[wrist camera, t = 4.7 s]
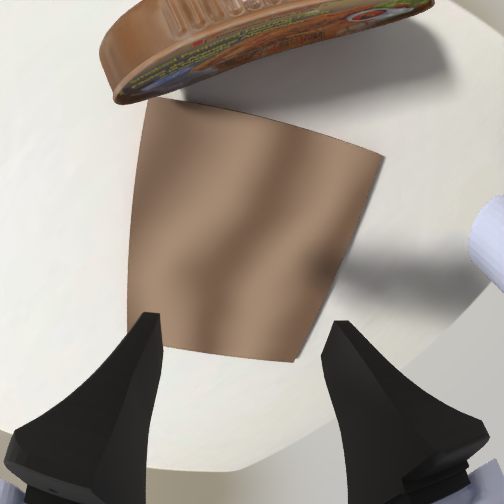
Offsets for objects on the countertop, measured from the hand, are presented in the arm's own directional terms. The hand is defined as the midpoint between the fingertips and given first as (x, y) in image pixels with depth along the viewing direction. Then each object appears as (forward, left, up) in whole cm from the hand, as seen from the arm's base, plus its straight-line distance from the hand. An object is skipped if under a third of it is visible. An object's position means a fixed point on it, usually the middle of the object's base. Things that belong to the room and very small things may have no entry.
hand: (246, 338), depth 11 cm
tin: (+2, -12, -10) cm, 16 cm away
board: (0, +2, -9) cm, 10 cm away
